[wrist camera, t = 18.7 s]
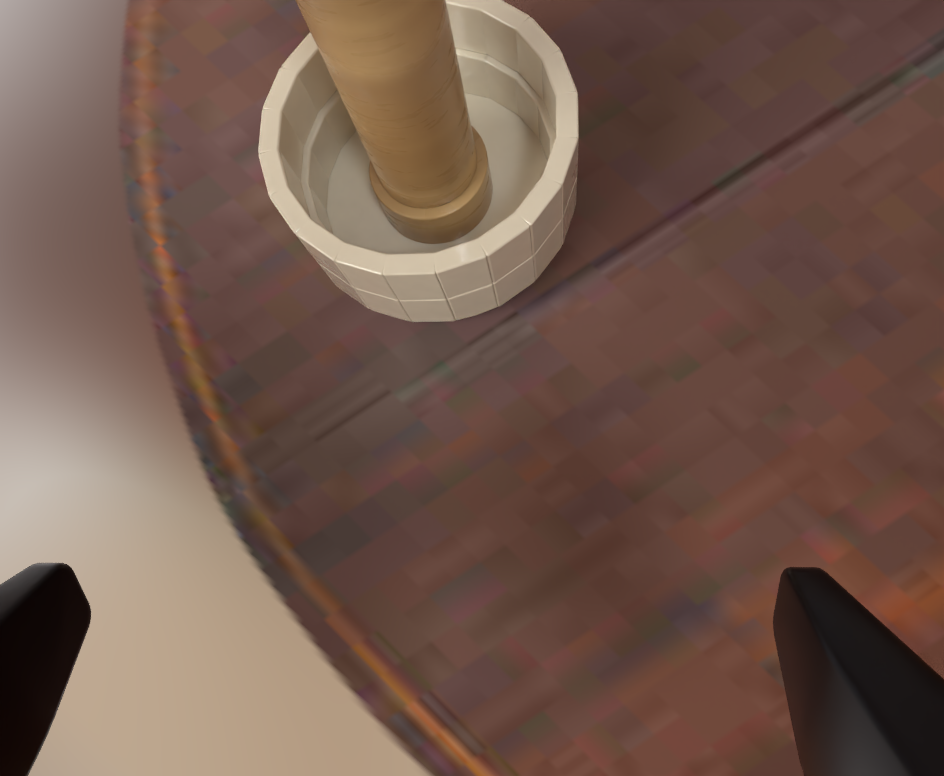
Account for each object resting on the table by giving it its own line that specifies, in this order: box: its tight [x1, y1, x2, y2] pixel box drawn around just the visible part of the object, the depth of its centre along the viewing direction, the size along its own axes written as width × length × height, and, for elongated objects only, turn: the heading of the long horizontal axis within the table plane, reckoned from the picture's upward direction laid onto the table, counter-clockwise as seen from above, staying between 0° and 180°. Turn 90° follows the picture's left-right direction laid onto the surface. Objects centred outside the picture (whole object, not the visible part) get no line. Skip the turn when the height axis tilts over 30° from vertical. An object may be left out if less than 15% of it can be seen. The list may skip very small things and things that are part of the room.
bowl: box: [258, 0, 579, 322], centre depth 23 cm, size 9×9×4 cm
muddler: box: [296, 0, 493, 244], centre depth 18 cm, size 4×4×14 cm
